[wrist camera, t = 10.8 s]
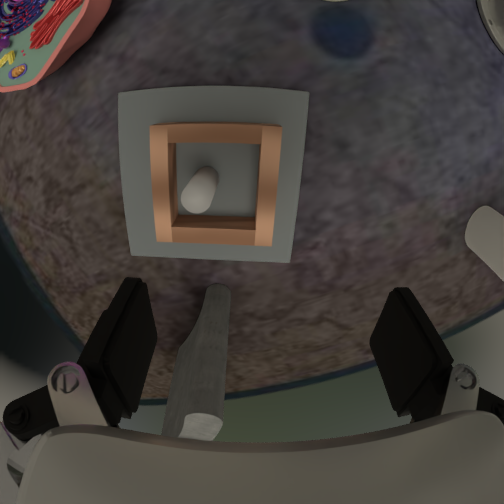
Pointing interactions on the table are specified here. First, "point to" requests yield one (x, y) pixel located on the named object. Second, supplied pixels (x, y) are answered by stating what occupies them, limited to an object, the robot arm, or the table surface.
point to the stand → (211, 165)
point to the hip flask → (201, 372)
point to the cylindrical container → (487, 237)
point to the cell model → (43, 36)
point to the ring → (206, 226)
